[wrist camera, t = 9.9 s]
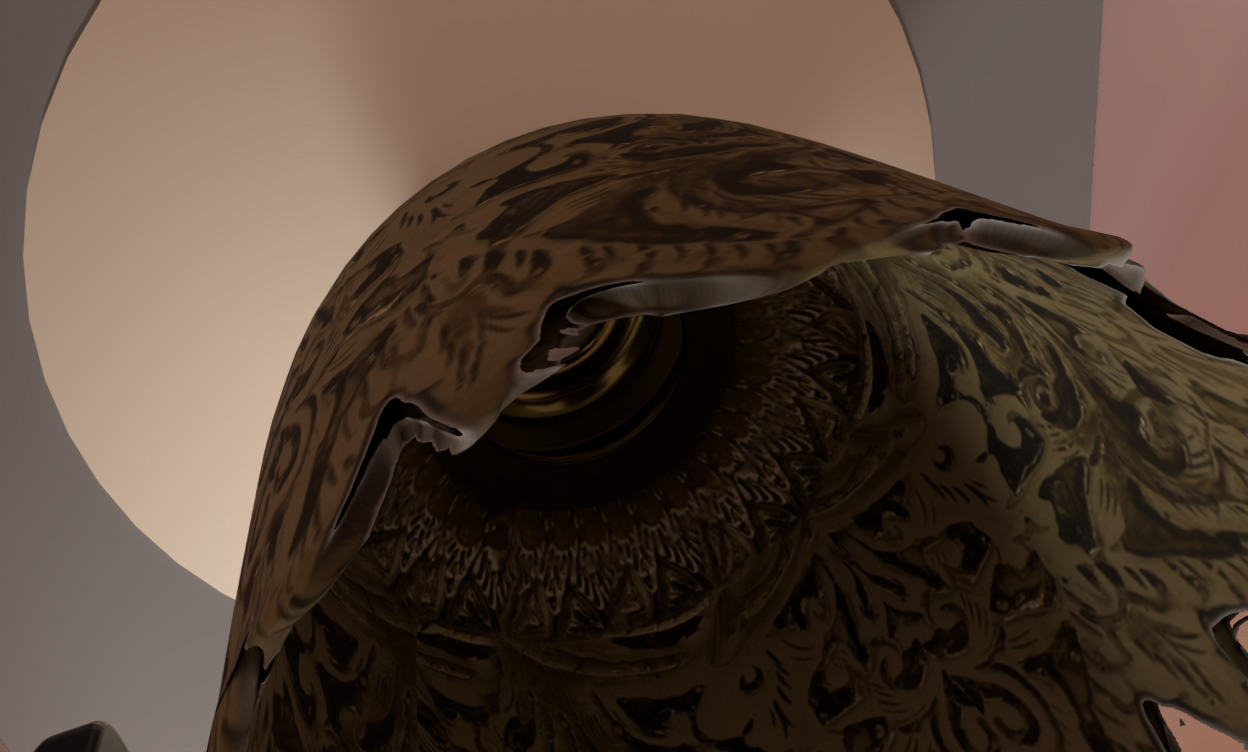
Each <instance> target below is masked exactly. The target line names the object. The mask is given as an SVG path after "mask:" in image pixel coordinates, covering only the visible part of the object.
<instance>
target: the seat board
mask: <svg viewBox="0 0 1248 752" xmlns="http://www.w3.org/2000/svg"><path fill="white" fill-rule="evenodd" d="M1102 6H1103V0H0V739H1V741H2V742H3V744H4V745H5V746H6V748H7V749H8V751H9V752H34V751H35V749H36V748H37V747H38V746H39V745H40V744H41V743H42V742H43V741H44V740H45V739H47V738H49V737H51V736H53V735H55V734H58V733H61V732H64V731H67V730H70V729H73V728H76V727H79V726H82V725H85V724H88V723H91V722H93V721H104V722H108V723H109V724H110V725H111V726H112V727H113V728H114V729H115V730H116V731H117V733H118V734H119V736H120V737H121V739H122V741H123V742H124V744H125V746H126V747H127V749H128V751H129V752H206V750H207V745H208V741H209V736H210V732H211V727H212V723H213V718H214V714H215V710H216V706H217V702H218V698H219V692H220V686H221V681H222V675H223V669H224V663H225V657H226V651H227V646H228V640H229V634H230V628H231V623H232V617H233V611H234V606H235V600H236V595H237V589H238V584H239V578H240V573H241V568H242V562H243V557H244V552H245V547H246V541H247V536H248V531H249V526H250V521H251V516H252V511H253V505H254V500H255V495H256V490H257V485H258V480H259V475H260V470H261V465H262V460H263V455H264V451H265V447H266V443H267V439H268V435H269V431H270V427H271V423H272V420H273V417H274V414H275V411H276V408H277V405H278V402H279V399H280V396H281V393H282V390H283V387H284V384H285V381H286V378H287V375H288V372H289V370H290V367H291V364H292V361H293V359H294V356H295V353H296V351H297V349H298V347H299V345H300V343H301V341H302V338H303V336H304V334H305V332H306V330H307V328H308V326H309V324H310V322H311V320H312V318H313V316H314V314H315V312H316V311H317V309H318V308H319V306H320V304H321V303H322V301H323V300H324V298H325V297H326V295H327V293H328V292H329V290H330V289H331V287H332V286H333V284H334V282H335V281H336V279H337V278H338V276H339V275H340V273H341V272H342V270H343V268H344V267H345V265H346V264H347V263H348V262H349V260H350V259H351V258H352V257H353V256H354V254H355V253H356V252H357V251H358V249H359V248H360V247H361V246H362V245H363V243H364V242H365V241H366V240H367V238H368V237H369V236H370V235H371V234H372V233H373V232H374V231H375V230H376V229H377V228H378V227H379V226H380V225H381V224H382V223H383V222H384V221H385V220H386V219H387V218H388V217H389V216H390V215H391V214H392V213H393V212H394V211H395V210H396V209H397V208H398V207H399V206H400V205H402V204H403V203H404V202H406V201H407V200H408V199H409V198H411V197H412V196H413V195H414V194H416V193H417V192H418V191H420V190H421V189H422V188H423V187H425V186H426V185H427V184H429V183H430V182H431V181H432V180H434V179H436V178H437V177H439V176H441V175H442V174H444V173H445V172H447V171H449V170H450V169H452V168H453V167H455V166H457V165H458V164H460V163H462V162H463V161H465V160H466V159H468V158H470V157H472V156H475V155H477V154H479V153H481V152H483V151H485V150H487V149H489V148H491V147H493V146H495V145H498V144H500V143H502V142H504V141H507V140H509V139H512V138H515V137H518V136H521V135H524V134H527V133H529V132H532V131H535V130H538V129H541V128H544V127H548V126H553V125H557V124H562V123H566V122H570V121H575V120H579V119H585V118H594V117H603V116H612V115H622V114H685V115H693V116H701V117H709V118H717V119H723V120H729V121H735V122H741V123H747V124H752V125H756V126H759V127H763V128H767V129H771V130H775V131H779V132H783V133H787V134H790V135H794V136H798V137H801V138H805V139H809V140H812V141H816V142H820V143H823V144H827V145H830V146H833V147H836V148H839V149H842V150H845V151H848V152H851V153H854V154H858V155H861V156H864V157H867V158H870V159H873V160H876V161H879V162H882V163H885V164H888V165H891V166H894V167H897V168H900V169H903V170H906V171H909V172H911V173H914V174H917V175H920V176H923V177H926V178H929V179H932V180H935V181H938V182H941V183H943V184H946V185H949V186H952V187H955V188H958V189H961V190H964V191H966V192H969V193H972V194H975V195H978V196H981V197H984V198H986V199H989V200H992V201H995V202H998V203H1001V204H1004V205H1006V206H1009V207H1012V208H1015V209H1018V210H1021V211H1024V212H1026V213H1029V214H1032V215H1035V216H1038V217H1041V218H1044V219H1047V220H1050V221H1053V222H1056V223H1060V224H1063V225H1067V226H1071V227H1076V228H1080V229H1085V230H1089V223H1090V207H1091V190H1092V173H1093V157H1094V140H1095V123H1096V106H1097V90H1098V73H1099V56H1100V40H1101V23H1102ZM596 325H597V324H596ZM596 325H593V326H590V327H587V328H584V329H581V330H578V331H577V333H578V335H569V336H568V338H567V339H566V341H565V343H564V348H571V347H578V346H579V345H580V344H582V343H583V342H584V341H585V340H586V339H587V338H588V336H589V335H590V334H591V333H592V331H593V330H594V328H595V327H596Z"/></svg>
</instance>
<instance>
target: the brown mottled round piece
mask: <svg viewBox="0 0 1248 752" xmlns="http://www.w3.org/2000/svg"><path fill="white" fill-rule="evenodd" d="M1131 251H1132V244H1131V243H1130V242H1128V241H1127V240H1125V239H1122V238H1120V237H1117V236H1113V235H1108V234H1104V233H1099V232H1094V231H1090V230H1085V229H1080V228H1076V227H1071V226H1067V225H1063V224H1060V223H1056V222H1053V221H1050V220H1047V219H1044V218H1041V217H1038V216H1035V215H1032V214H1029V213H1026V212H1024V211H1021V210H1018V209H1015V208H1012V207H1009V206H1006V205H1004V204H1001V203H998V202H995V201H992V200H989V199H986V198H984V197H981V196H978V195H975V194H972V193H969V192H966V191H964V190H961V189H958V188H955V187H952V186H949V185H946V184H943V183H941V182H938V181H935V180H932V179H929V178H926V177H923V176H920V175H917V174H914V173H911V172H909V171H906V170H903V169H900V168H897V167H894V166H891V165H888V164H885V163H882V162H879V161H876V160H873V159H870V158H867V157H864V156H861V155H858V154H854V153H851V152H848V151H845V150H842V149H839V148H836V147H833V146H830V145H827V144H823V143H820V142H816V141H812V140H809V139H805V138H801V137H798V136H794V135H790V134H787V133H783V132H779V131H775V130H771V129H767V128H763V127H759V126H756V125H752V124H747V123H741V122H735V121H729V120H723V119H717V118H709V117H701V116H693V115H685V114H622V115H612V116H603V117H594V118H585V119H579V120H575V121H570V122H566V123H562V124H557V125H553V126H548V127H544V128H541V129H538V130H535V131H532V132H529V133H527V134H524V135H521V136H518V137H515V138H512V139H509V140H507V141H504V142H502V143H500V144H498V145H495V146H493V147H491V148H489V149H487V150H485V151H483V152H481V153H479V154H477V155H475V156H472V157H470V158H468V159H466V160H465V161H463V162H462V163H460V164H458V165H457V166H455V167H453V168H452V169H450V170H449V171H447V172H445V173H444V174H442V175H441V176H439V177H437V178H436V179H434V180H432V181H431V182H430V183H429V184H427V185H426V186H425V187H423V188H422V189H421V190H420V191H418V192H417V193H416V194H414V195H413V196H412V197H411V198H409V199H408V200H407V201H406V202H404V203H403V204H402V205H400V206H399V207H398V208H397V209H396V210H395V211H394V212H393V213H392V214H391V215H390V216H389V217H388V218H387V219H386V220H385V221H384V222H383V223H382V224H381V225H380V226H379V227H378V228H377V229H376V230H375V231H374V232H373V233H372V234H371V235H370V236H369V237H368V238H367V240H366V241H365V242H364V243H363V245H362V246H361V247H360V248H359V249H358V251H357V252H356V253H355V254H354V256H353V257H352V258H351V259H350V260H349V262H348V263H347V264H346V265H345V267H344V268H343V270H342V272H341V273H340V275H339V276H338V278H337V279H336V281H335V282H334V284H333V286H332V287H331V289H330V290H329V292H328V293H327V295H326V297H325V298H324V300H323V301H322V303H321V304H320V306H319V308H318V309H317V311H316V312H315V314H314V316H313V318H312V320H311V322H310V324H309V326H308V328H307V330H306V332H305V334H304V336H303V338H302V341H301V343H300V345H299V347H298V349H297V351H296V353H295V356H294V359H293V361H292V364H291V367H290V370H289V372H288V375H287V378H286V381H285V384H284V387H283V390H282V393H281V396H280V399H279V402H278V405H277V408H276V411H275V414H274V417H273V420H272V423H271V427H270V431H269V435H268V439H267V443H266V447H265V451H264V455H263V460H262V465H261V470H260V475H259V480H258V485H257V490H256V495H255V500H254V505H253V511H252V516H251V521H250V526H249V531H248V536H247V541H246V547H245V552H244V557H243V562H242V568H241V573H240V578H239V584H238V589H237V595H236V600H235V606H234V611H233V617H232V623H231V628H230V634H229V640H228V646H227V651H226V657H225V663H224V669H223V675H222V681H221V686H220V692H219V698H218V702H217V706H216V710H215V714H214V718H213V723H212V727H211V732H210V736H209V741H208V745H207V750H206V752H1181V748H1180V747H1179V745H1178V742H1177V741H1176V738H1175V737H1174V736H1173V735H1172V732H1171V731H1170V729H1169V728H1168V727H1167V724H1166V722H1165V721H1164V719H1163V717H1162V715H1161V713H1160V710H1159V707H1158V704H1159V705H1161V706H1165V707H1171V708H1175V709H1177V710H1180V711H1182V712H1184V713H1187V714H1188V715H1189V716H1191V717H1193V718H1194V719H1197V720H1198V721H1200V722H1202V723H1203V724H1206V725H1207V726H1209V727H1211V728H1213V729H1215V730H1217V731H1219V732H1222V733H1225V734H1226V735H1228V736H1230V737H1232V739H1234V740H1237V741H1238V742H1239V743H1243V744H1244V750H1248V653H1247V652H1246V651H1245V649H1244V648H1243V646H1241V644H1240V643H1239V642H1238V641H1239V640H1238V638H1237V637H1236V636H1237V632H1238V630H1239V626H1240V625H1241V624H1242V623H1244V622H1245V621H1247V620H1248V616H1246V617H1244V618H1242V619H1241V620H1239V621H1238V622H1236V623H1235V624H1234V625H1233V630H1232V628H1231V625H1230V621H1231V620H1232V619H1233V618H1234V617H1235V616H1236V615H1238V614H1239V612H1244V611H1248V338H1247V337H1244V336H1241V335H1238V334H1236V333H1233V332H1230V331H1227V330H1224V329H1222V328H1220V327H1218V326H1216V325H1214V324H1212V323H1210V322H1208V321H1207V320H1205V319H1203V318H1201V317H1199V316H1197V315H1195V314H1193V313H1191V312H1189V311H1188V310H1186V309H1184V308H1182V307H1180V306H1178V305H1177V304H1175V303H1173V302H1172V301H1171V300H1169V299H1168V298H1167V297H1166V296H1165V295H1164V294H1163V293H1162V292H1160V291H1159V290H1158V289H1157V288H1155V287H1154V286H1153V285H1152V284H1151V283H1149V282H1148V281H1147V280H1146V279H1145V270H1146V268H1145V267H1143V266H1142V265H1140V264H1138V263H1136V262H1134V261H1132V260H1129V259H1128V257H1129V255H1130V253H1131ZM596 324H597V325H596ZM593 325H596V327H595V328H594V330H593V331H592V333H591V334H590V335H589V336H588V338H587V339H586V340H585V341H584V342H583V343H582V344H580V345H579V346H578V347H571V348H564V343H565V341H566V339H567V338H568V336H569V335H578V333H577V331H578V330H581V329H584V328H587V327H590V326H593ZM1183 725H1185V723H1184V722H1183V721H1182V719H1180V726H1183Z"/></svg>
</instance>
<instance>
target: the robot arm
mask: <svg viewBox="0 0 1248 752" xmlns="http://www.w3.org/2000/svg"><path fill="white" fill-rule="evenodd" d="M1238 335H1241V336H1244V337H1247V338H1248V335H1245V334H1238ZM34 752H129V751H128V749H127V747H126V746H125V744H124V742H123V741H122V739H121V737H120V736H119V734H118V733H117V731H116V730H115V729H114V728H113V727H112V726H111V725H110V724H109V723H108V722H104V721H93V722H91V723H88V724H85V725H82V726H79V727H76V728H73V729H70V730H67V731H64V732H61V733H58V734H55V735H53V736H51V737H49V738H47V739H45V740H44V741H43V742H42V743H41V744H40V745H39V746H38V747H37V748H36V749H35V751H34Z"/></svg>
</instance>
